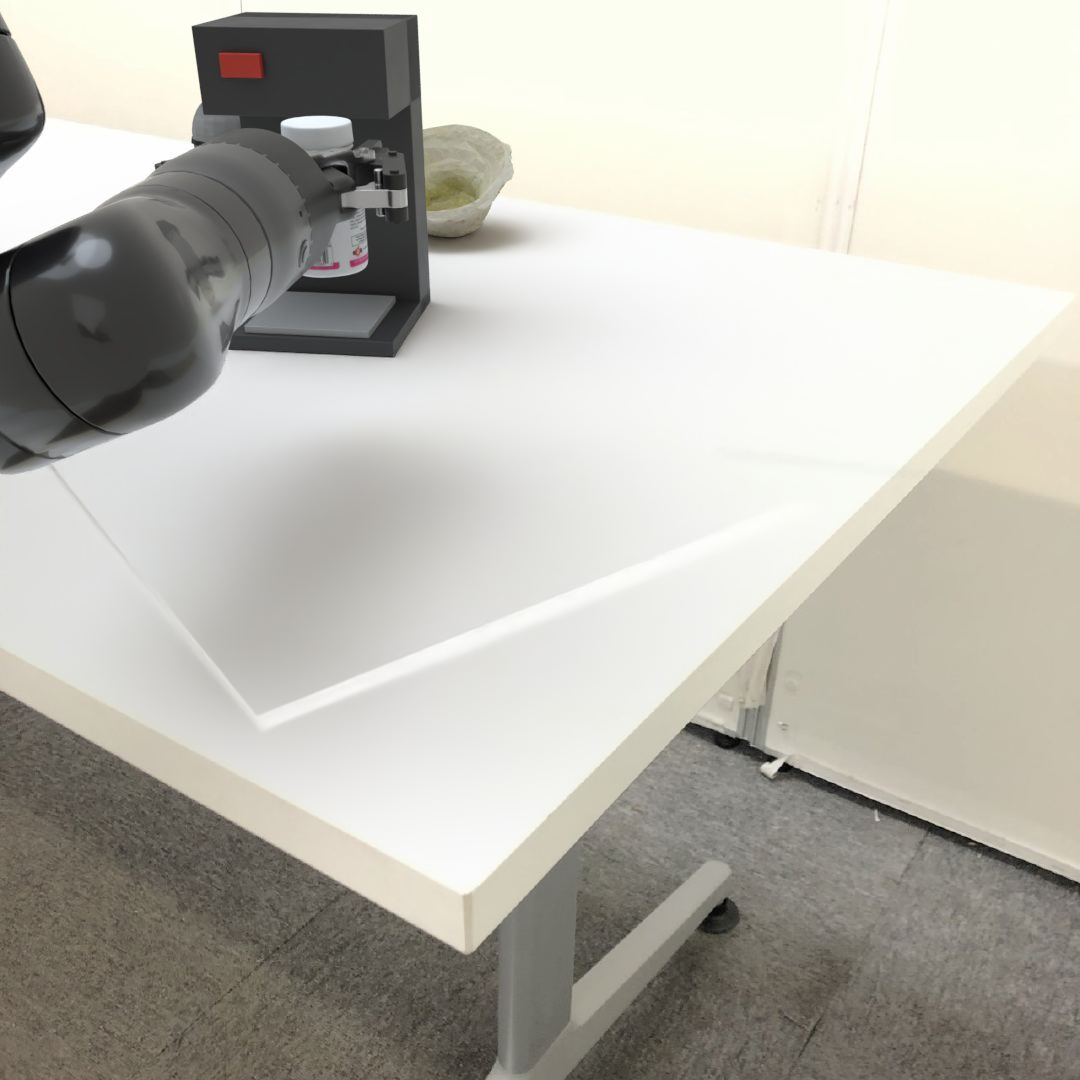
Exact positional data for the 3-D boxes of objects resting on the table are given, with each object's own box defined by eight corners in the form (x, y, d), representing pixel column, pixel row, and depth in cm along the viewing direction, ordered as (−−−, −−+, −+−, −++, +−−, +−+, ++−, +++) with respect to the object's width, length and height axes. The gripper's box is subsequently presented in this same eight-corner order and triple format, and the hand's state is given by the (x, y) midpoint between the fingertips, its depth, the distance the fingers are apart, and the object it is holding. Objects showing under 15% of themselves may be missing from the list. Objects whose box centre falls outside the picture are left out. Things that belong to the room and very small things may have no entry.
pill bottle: (345, 252, 71) (335, 111, 67) (382, 270, 67) (374, 123, 63) (275, 264, 68) (260, 118, 64) (310, 284, 65) (296, 131, 61)
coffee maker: (430, 300, 99) (417, 14, 88) (393, 357, 87) (372, 33, 76) (277, 294, 101) (244, 11, 89) (220, 348, 89) (173, 30, 77)
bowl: (354, 247, 114) (346, 144, 109) (401, 214, 126) (395, 120, 121) (496, 257, 111) (494, 152, 106) (530, 222, 123) (530, 126, 118)
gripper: (375, 149, 50) (448, 92, 65) (70, 138, 51) (209, 85, 66) (385, 312, 54) (452, 223, 68) (100, 298, 55) (225, 214, 70)
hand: (332, 156), depth 67 cm, fingers closed on pill bottle, 4 cm apart
